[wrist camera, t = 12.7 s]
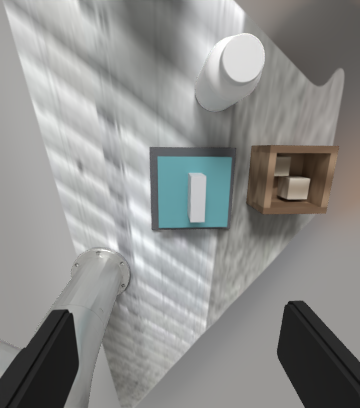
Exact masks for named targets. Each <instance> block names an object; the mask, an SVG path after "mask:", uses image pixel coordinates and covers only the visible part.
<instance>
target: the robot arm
mask: <svg viewBox="0 0 360 408" xmlns="http://www.w3.org/2000/svg"><path fill="white" fill-rule="evenodd" d="M122 262H123V263H122ZM71 277H72V279H71V280H70V281H69V283H68V284H67V286H66V287H65V288H64V290H63V291H62V293H61V294H60V295H59V297H58V298H57V300H56V301H55V302H54V304H53V305H52V307H51V308H50V310H49V311H48V312H47V314H46V315H45V317H44V318H43V319H42V321H41V322H40V324H39V325H38V327H37V329H36V331H35V334H34V337H33V338H32V340H31V341H30V343H29V344H28V345H27V347H26V348H23V349H20V348H18V347H16V346H14V345H12V344H9V343H7V342H5V341H3V340H1V339H0V408H88V403H89V396H90V387H91V381H92V376H93V371H94V367H95V363H96V359H97V356H98V353H99V349H100V346H101V343H102V340H103V337H104V333H105V330H106V327H107V324H108V321H109V318H110V315H111V312H112V309H113V306H114V303H115V300H116V297H117V295H119V294H120V293H122V292H123V291H124V289H125V288H126V287H127V285H128V282H129V279H130V269H129V265H128V263H127V262H126V260H125V259H124V258H123V257H122V256H121V255H120V254H119V253H117V252H115V251H113V250H110V249H106V248H93V249H90V250H87V251H85V252H83V253H82V254H81V255H80V256H79V257H78V258H77V259H76V260H75V262H74V263H73V266H72V269H71ZM277 355H278V359H279V361H280V363H281V364H282V366H283V368H284V370H285V372H286V374H287V376H288V377H289V379H290V381H291V383H292V385H293V387H294V389H295V390H296V392H297V394H298V396H299V398H300V400H301V401H302V403H303V405H304V407H305V408H360V362H359V361H358V359H357V358H356V357H355V356H354V355H353V354H352V353H351V352H350V351H349V350H348V349H347V348H346V346H344V344H343V343H342V342H341V341H340V340H339V339H338V338H337V337H336V336H335V334H334V333H333V332H332V331H331V330H330V329H329V328H328V327H327V326H326V325H325V324H324V323H323V322H322V320H321V319H320V318H319V317H318V316H317V315H316V314H315V313H314V312H313V311H312V309H311V308H310V307H309V306H308V305H307V304H306V303H305V302H303V301H289V302H288V304H287V305H285V307H284V313H283V319H282V325H281V331H280V336H279V343H278V348H277Z"/></svg>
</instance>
